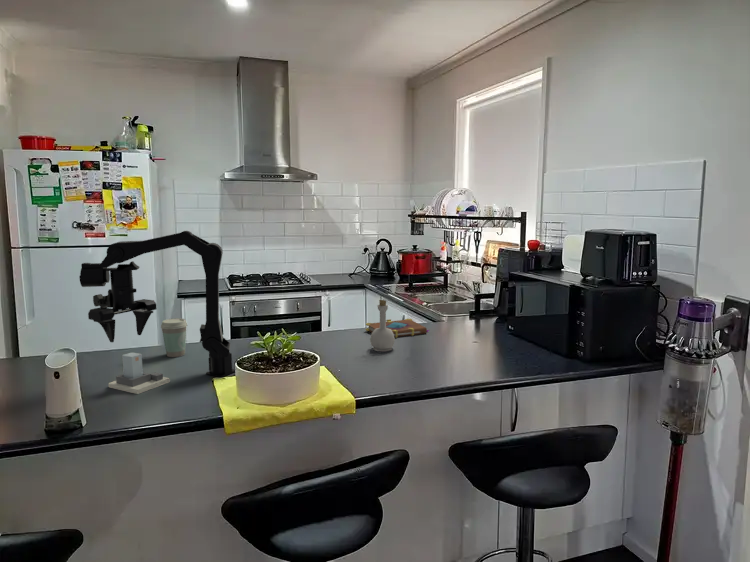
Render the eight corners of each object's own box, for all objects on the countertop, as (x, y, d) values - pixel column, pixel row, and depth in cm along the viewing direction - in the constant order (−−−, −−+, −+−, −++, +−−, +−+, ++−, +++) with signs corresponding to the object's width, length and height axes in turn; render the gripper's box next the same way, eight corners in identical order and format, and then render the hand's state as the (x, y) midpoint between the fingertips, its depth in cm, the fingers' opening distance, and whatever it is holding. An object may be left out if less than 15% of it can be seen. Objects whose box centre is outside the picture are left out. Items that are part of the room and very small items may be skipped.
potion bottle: (366, 350, 188) (366, 300, 185) (376, 344, 196) (376, 296, 193) (390, 353, 185) (390, 302, 182) (398, 347, 193) (398, 297, 190)
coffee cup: (180, 359, 178) (178, 324, 177) (157, 357, 180) (155, 322, 178) (193, 352, 187) (192, 318, 185) (171, 350, 188) (169, 317, 187)
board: (169, 382, 156) (169, 371, 155) (137, 394, 146) (137, 382, 145) (141, 376, 161) (140, 365, 161) (108, 387, 151) (107, 376, 151)
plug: (143, 381, 153) (141, 354, 152) (133, 384, 150) (131, 357, 149) (133, 379, 155) (131, 352, 153) (124, 382, 152) (122, 355, 151)
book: (436, 335, 214) (437, 323, 213) (381, 342, 204) (381, 330, 203) (416, 325, 229) (417, 313, 228) (363, 331, 218) (364, 319, 217)
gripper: (130, 279, 165) (134, 328, 168) (73, 288, 149) (78, 342, 151) (156, 282, 160) (159, 332, 163) (99, 291, 144) (103, 347, 146)
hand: (125, 338), depth 156 cm, fingers open, 9 cm apart
